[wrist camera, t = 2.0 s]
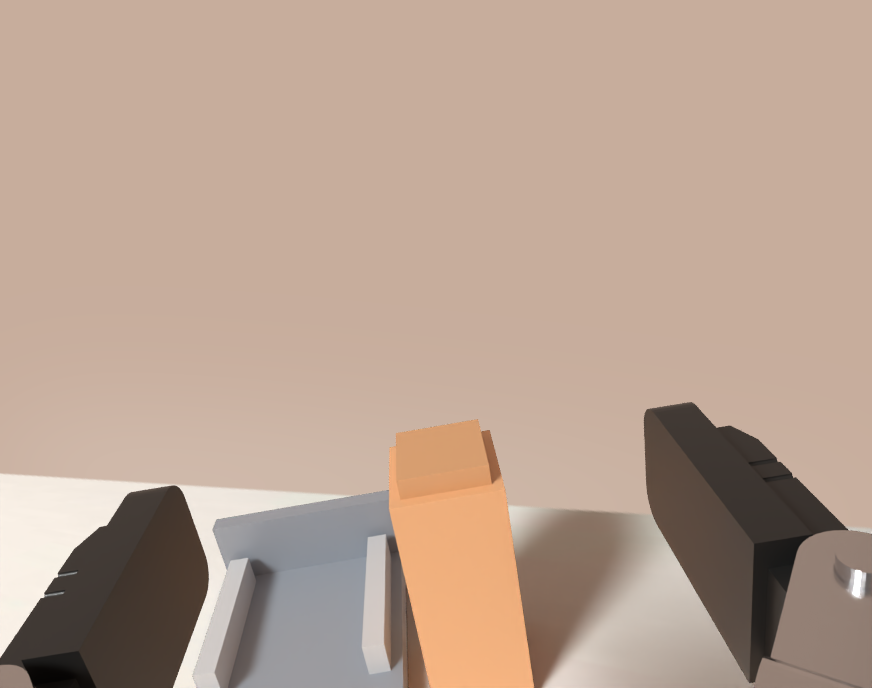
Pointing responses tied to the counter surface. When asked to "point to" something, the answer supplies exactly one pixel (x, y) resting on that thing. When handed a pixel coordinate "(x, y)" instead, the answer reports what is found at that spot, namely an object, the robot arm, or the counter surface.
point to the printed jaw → (459, 557)
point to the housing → (309, 599)
